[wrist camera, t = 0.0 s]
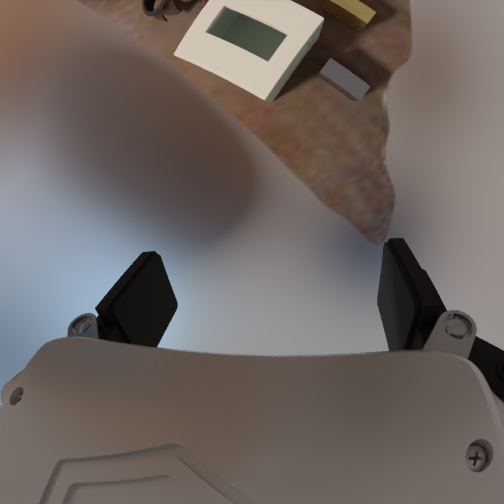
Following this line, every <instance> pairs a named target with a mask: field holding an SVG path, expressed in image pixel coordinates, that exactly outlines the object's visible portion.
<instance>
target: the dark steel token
mask: <svg viewBox="0 0 504 504" xmlns="http://www.w3.org/2000/svg"><path fill="white" fill-rule="evenodd" d="M317 77H319V78H321V79H322V80H324V81H325V82H327V83H328V84H329V85H331V86H332V87H334V88H335V89H337V90H338V91H339V92H341V93H342V94H344V95H345V96H346V97H348V98H349V99H350V100H352V101H360V100H361V99H362V97H363V96H364V95H365V93H366V92H367V91H368V89H369V88H370V86H369V85H368V84H367V83H365V82H364V81H363V80H361V79H360V78H359V77H357V76H356V75H355V74H353V73H352V72H350V71H349V70H348V69H346V68H345V67H343V66H342V65H340V64H339V63H337V62H336V61H334V60H333V59H331V58H330V59H329V60H328V62H327V63H326V64H325V66H324V67H323V68H322V70H321V71H320V72H319V74H318V76H317Z"/></svg>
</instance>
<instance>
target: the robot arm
mask: <svg viewBox="0 0 504 504" xmlns="http://www.w3.org/2000/svg"><path fill="white" fill-rule="evenodd" d="M377 303H378V308H379V312H380V315H381V319H382V323H383V327H384V331H385V335H386V339H387V342H388V347H389V351H382V352H366V353H352V354H351V353H350V354H328V355H245V354H226V353H210V352H197V351H185V350H175V349H165V348H157V346H158V344H159V342H160V340H161V338H162V336H163V335H164V333H165V331H166V329H167V327H168V325H169V323H170V321H171V319H172V317H173V315H174V314H175V312H176V310H177V305H178V304H177V300H176V298H175V295H174V292H173V290H172V287H171V284H170V281H169V279H168V276H167V273H166V270H165V268H164V265H163V262H162V259H161V256H160V255H159V254H157V253H156V252H155V251H150V252H143V253H141V255H140V256H139V257H138V258H137V259H136V260H135V261H134V262H133V264H132V265H131V266H130V267H129V268H128V269H127V271H126V272H125V273H124V274H123V275H122V276H121V277H120V279H119V280H118V281H117V282H116V283H115V284H114V286H113V287H112V288H111V289H110V291H109V292H108V293H107V294H106V295H105V296H104V298H103V299H102V300H101V301H100V303H99V304H98V305H97V307H96V308H95V309H96V311H97V313H98V317H97V318H96V316H95V315H94V314H92V313H86V314H82V315H80V316H78V317H77V318H75V319H74V320H73V321H72V322H71V324H70V325H69V327H68V336H67V337H63V338H59V339H55V340H52V341H50V342H47V343H46V344H44V345H43V346H42V347H41V348H40V349H39V350H38V351H37V353H36V354H35V355H34V356H33V357H32V359H31V360H30V361H29V363H28V364H27V365H26V367H25V368H24V369H23V370H22V371H21V372H20V373H18V374H17V375H16V376H15V377H13V378H12V379H11V380H10V381H9V382H7V383H6V384H5V385H4V387H3V388H2V391H1V400H2V405H1V407H0V504H504V351H503V350H501V349H499V348H498V347H496V346H494V345H492V344H490V343H488V342H486V341H484V340H482V339H480V338H478V337H477V336H476V331H477V328H476V324H475V322H474V321H473V319H472V318H471V317H470V316H469V315H467V314H465V313H464V312H461V311H458V310H450V311H447V310H446V308H445V306H444V304H443V302H442V300H441V298H440V296H439V294H438V292H437V290H436V288H435V287H434V285H433V283H432V281H431V279H430V278H429V276H428V274H427V272H426V271H425V270H423V269H422V268H421V267H420V265H419V263H418V262H417V260H416V258H415V257H414V255H413V253H412V252H411V250H410V248H409V247H408V245H407V243H406V242H405V240H404V239H403V238H390V239H389V240H388V242H385V243H384V247H383V257H382V267H381V275H380V283H379V290H378V297H377Z"/></svg>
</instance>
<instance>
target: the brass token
mask: <svg viewBox="0 0 504 504" xmlns="http://www.w3.org/2000/svg"><path fill="white" fill-rule="evenodd" d="M323 10H325V11H327V12H328V13H330V14H332V15H333V16H335V17H337V18H338V19H340V20H342V21H343V22H345V23H346V24H348V25H350V26H351V27H353V28H354V29H356V30H357V31H359V32H360V31H361V30H362V29H363V28H364V27H365V26H366V25H367V23H368V22H369V21H370V20H371V18H372V17H373V16H374V15H375V13H376V12H375V11H374V10H372V9H371V8H369V7H368V6H366V5H365V4H363V3H362V2H360V1H358V0H325V4H324V8H323Z"/></svg>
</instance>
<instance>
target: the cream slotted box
mask: <svg viewBox="0 0 504 504" xmlns="http://www.w3.org/2000/svg"><path fill="white" fill-rule="evenodd" d="M323 21H324V18H323V17H321V16H320V15H318V14H316V13H314V12H312V11H310V10H309V9H307V8H305V7H303V6H301V5H299V4H297V3H295V2H293V1H291V0H209V1H208V2H207V4H206V5H205V7H204V8H203V9H202V11H201V12H200V14H199V15H198V17H197V18H196V19H195V21H194V22H193V24H192V26H191V27H190V29H189V30H188V32H187V33H186V35H185V36H184V38H183V40H182V41H181V43H180V45H179V46H178V48H177V50H176V51H175V53H174V55H175V56H177V57H180V58H182V59H184V60H186V61H189V62H191V63H193V64H195V65H198V66H200V67H202V68H204V69H206V70H208V71H210V72H212V73H214V74H216V75H219V76H221V77H222V78H224V79H226V80H228V81H230V82H232V83H234V84H236V85H238V86H240V87H242V88H243V89H245V90H247V91H249V92H251V93H252V94H254V95H256V96H258V97H259V98H261V99H263V100H265V101H273V100H274V99H275V97H276V96H277V95H278V93H279V92H280V90H281V89H282V87H283V86H284V84H285V83H286V82H287V80H288V79H289V77H290V76H291V75H292V73H293V72H294V70H295V69H296V68H297V66H298V65H299V63H300V62H301V61H302V59H303V58H304V57H305V55H306V54H307V53H308V51H309V50H310V49H311V47H312V46H313V45H314V43H315V42H316V41H317V39H318V38H319V35H320V31H321V28H322V25H323Z"/></svg>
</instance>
